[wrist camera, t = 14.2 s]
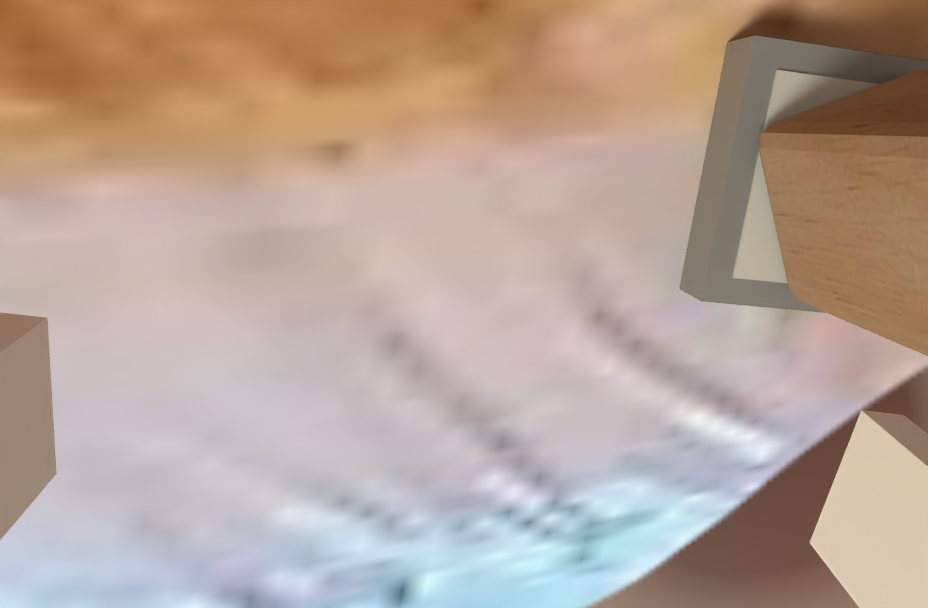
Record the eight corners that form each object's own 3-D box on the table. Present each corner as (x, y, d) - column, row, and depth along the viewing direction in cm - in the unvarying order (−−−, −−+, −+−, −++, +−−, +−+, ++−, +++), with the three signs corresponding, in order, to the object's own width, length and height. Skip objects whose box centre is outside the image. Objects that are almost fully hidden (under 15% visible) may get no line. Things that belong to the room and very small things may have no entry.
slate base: (727, 41, 39) (756, 34, 36) (955, 75, 40) (1001, 71, 37) (679, 288, 42) (702, 302, 39) (892, 308, 44) (929, 322, 41)
